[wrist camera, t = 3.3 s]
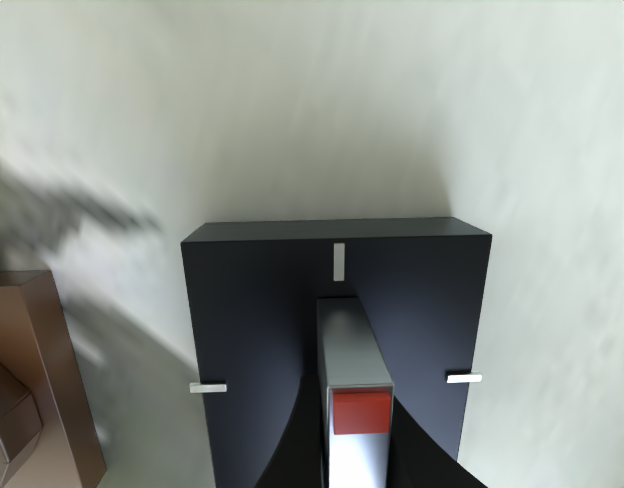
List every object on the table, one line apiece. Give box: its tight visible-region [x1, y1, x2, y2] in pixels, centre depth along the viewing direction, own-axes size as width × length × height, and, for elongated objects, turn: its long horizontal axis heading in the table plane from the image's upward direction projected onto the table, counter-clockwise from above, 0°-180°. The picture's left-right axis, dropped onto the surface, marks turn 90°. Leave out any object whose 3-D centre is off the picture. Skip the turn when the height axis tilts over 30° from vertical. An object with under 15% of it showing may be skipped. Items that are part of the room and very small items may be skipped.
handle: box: [317, 298, 394, 488], centre depth 10 cm, size 8×2×5 cm, turn 1°
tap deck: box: [180, 217, 492, 488], centre depth 14 cm, size 14×12×3 cm
